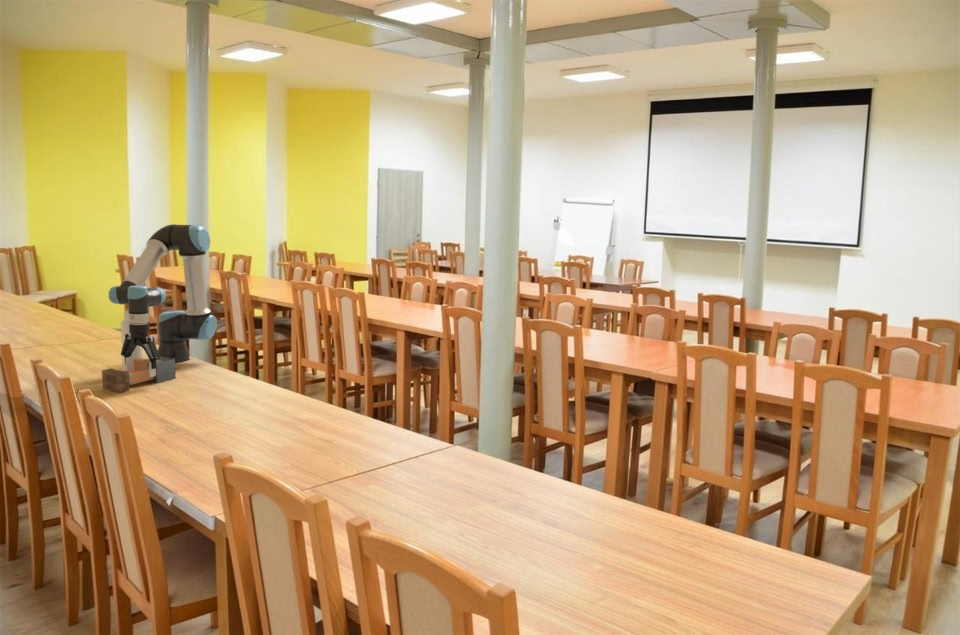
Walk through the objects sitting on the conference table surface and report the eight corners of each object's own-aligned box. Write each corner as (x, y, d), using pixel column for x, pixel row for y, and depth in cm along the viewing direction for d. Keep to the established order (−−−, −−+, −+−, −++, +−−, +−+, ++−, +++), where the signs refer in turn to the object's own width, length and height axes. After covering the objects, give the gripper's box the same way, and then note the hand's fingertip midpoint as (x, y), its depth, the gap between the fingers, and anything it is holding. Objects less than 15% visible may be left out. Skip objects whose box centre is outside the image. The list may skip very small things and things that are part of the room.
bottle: (138, 376, 325) (135, 312, 321) (119, 376, 325) (116, 312, 321) (146, 372, 333) (144, 310, 329) (128, 372, 333) (125, 309, 329)
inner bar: (161, 373, 326) (160, 353, 324) (168, 375, 324) (168, 354, 322) (122, 383, 307) (121, 361, 306) (130, 384, 306) (129, 363, 304)
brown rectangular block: (111, 387, 306) (110, 368, 305) (129, 390, 302) (128, 371, 301) (102, 389, 302) (101, 370, 301) (120, 393, 298) (119, 373, 297)
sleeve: (160, 375, 328) (159, 356, 327) (175, 378, 324) (174, 358, 323) (141, 380, 319) (140, 360, 318) (157, 383, 315) (156, 363, 314)
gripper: (109, 321, 311) (112, 372, 314) (153, 327, 301) (155, 379, 305) (125, 319, 318) (127, 369, 321) (168, 324, 308) (170, 376, 311)
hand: (141, 374), depth 313 cm, fingers open, 12 cm apart
